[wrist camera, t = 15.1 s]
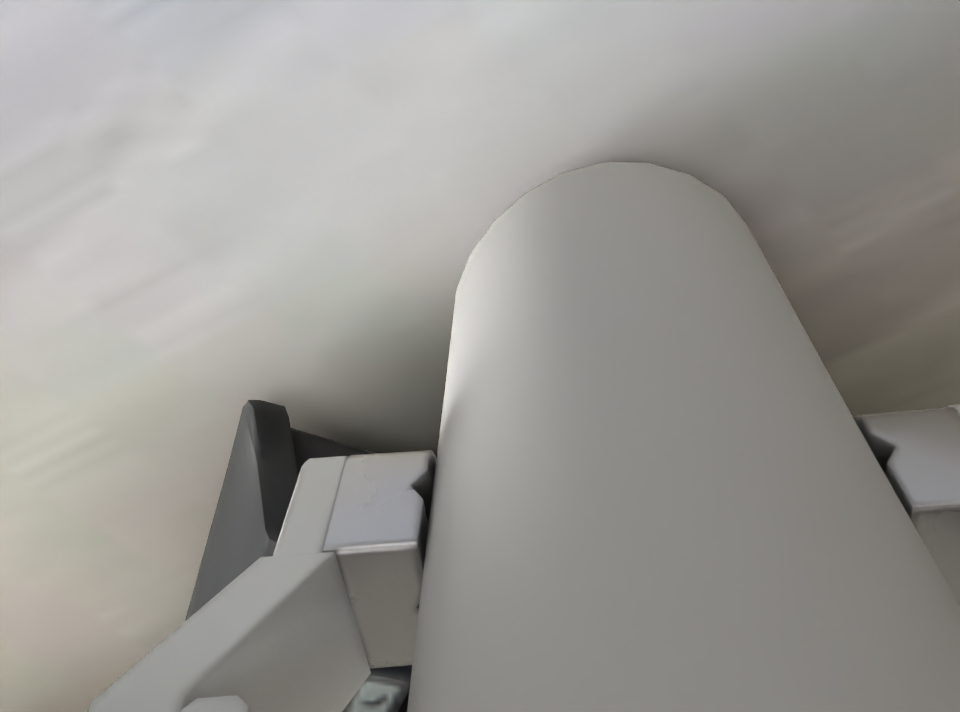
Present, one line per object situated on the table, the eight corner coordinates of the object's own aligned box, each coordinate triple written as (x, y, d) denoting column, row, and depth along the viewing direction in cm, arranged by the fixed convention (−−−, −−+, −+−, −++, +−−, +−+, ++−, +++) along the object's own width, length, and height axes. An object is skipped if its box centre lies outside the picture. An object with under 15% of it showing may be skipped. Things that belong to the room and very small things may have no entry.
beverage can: (440, 394, 15) (298, 1570, 5) (479, 123, 13) (346, 1417, 3) (711, 430, 16) (1084, 1622, 5) (803, 172, 13) (1851, 1527, 3)
